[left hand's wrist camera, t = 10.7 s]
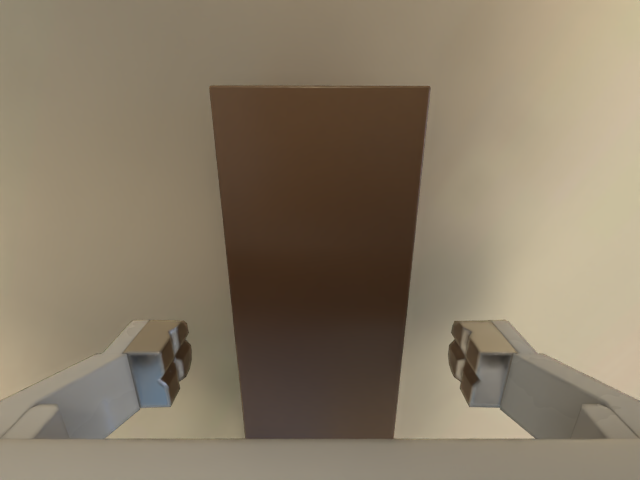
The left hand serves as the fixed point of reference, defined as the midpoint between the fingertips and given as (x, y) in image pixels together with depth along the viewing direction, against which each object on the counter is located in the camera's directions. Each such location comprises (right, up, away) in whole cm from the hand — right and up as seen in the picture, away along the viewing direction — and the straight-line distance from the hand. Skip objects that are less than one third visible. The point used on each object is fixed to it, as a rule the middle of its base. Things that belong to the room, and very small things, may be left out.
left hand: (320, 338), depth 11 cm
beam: (0, -28, +16) cm, 32 cm away
